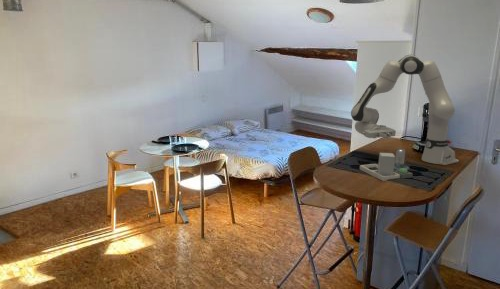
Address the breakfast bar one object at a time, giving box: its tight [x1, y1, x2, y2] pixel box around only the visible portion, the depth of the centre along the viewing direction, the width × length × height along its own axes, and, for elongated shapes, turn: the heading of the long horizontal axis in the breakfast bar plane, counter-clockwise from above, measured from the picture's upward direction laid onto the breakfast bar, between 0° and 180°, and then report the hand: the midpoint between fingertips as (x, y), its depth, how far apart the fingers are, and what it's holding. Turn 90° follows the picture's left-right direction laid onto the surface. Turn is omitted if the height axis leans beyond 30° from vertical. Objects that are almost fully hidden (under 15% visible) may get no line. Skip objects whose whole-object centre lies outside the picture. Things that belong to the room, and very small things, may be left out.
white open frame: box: [359, 163, 401, 182], centre depth 218 cm, size 21×11×2 cm, turn 20°
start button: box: [399, 168, 408, 174], centre depth 213 cm, size 4×4×4 cm
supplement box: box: [377, 152, 396, 176], centre depth 212 cm, size 7×7×13 cm
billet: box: [394, 148, 407, 168], centre depth 226 cm, size 5×5×11 cm
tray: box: [394, 163, 410, 171], centre depth 227 cm, size 8×8×2 cm
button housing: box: [394, 170, 414, 180], centre depth 213 cm, size 7×7×3 cm
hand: (388, 136), depth 234 cm, fingers closed
